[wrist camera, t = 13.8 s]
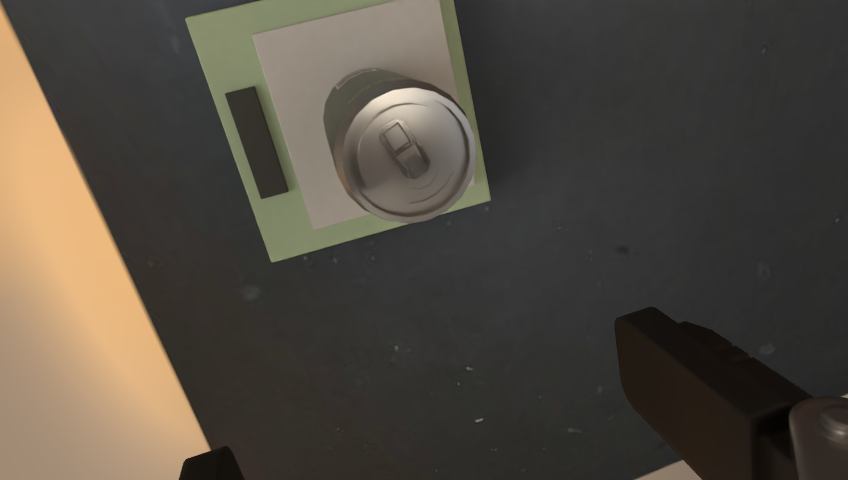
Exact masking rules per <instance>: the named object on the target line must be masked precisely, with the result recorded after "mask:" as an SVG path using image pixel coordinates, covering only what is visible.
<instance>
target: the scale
mask: <svg viewBox="0 0 848 480" xmlns="http://www.w3.org/2000/svg"><path fill="white" fill-rule="evenodd" d="M185 20H186V23H187V26H188V29H189V32H190V35H191V37H192V40H193V43H194V46H195V49H196V51H197V54H198V57H199V60H200V63H201V66H202V68H203V71H204V74H205V77H206V80H207V82H208V85H209V88H210V91H211V94H212V97H213V99H214V102H215V105H216V108H217V111H218V113H219V116H220V119H221V122H222V125H223V128H224V130H225V133H226V136H227V139H228V142H229V144H230V147H231V150H232V153H233V156H234V159H235V161H236V164H237V167H238V170H239V173H240V175H241V178H242V181H243V184H244V187H245V189H246V192H247V195H248V198H249V201H250V204H251V206H252V209H253V212H254V215H255V218H256V220H257V223H258V226H259V229H260V232H261V235H262V237H263V240H264V243H265V246H266V249H267V251H268V254H269V257H270V260H271V262H272V263H273V262H276V261H280V260H283V259H287V258H290V257H294V256H297V255H301V254H304V253H308V252H311V251H315V250H319V249H322V248H326V247H329V246H333V245H336V244H340V243H343V242H347V241H350V240H354V239H357V238H361V237H364V236H368V235H371V234H375V233H378V232H382V231H385V230H389V229H392V228H396V227H399V226H403V225H406V224H407V223H400V222H392V221H388V220H386V219H382V218H380V217H378V216H376V215H374V214H372V213H369V212H367V211H365V210H363V209H362V208H361V207H360V206H359V205H358V204H357V203H356V202H355V201H354V200H353V199H352V198H351V197H350V196H349V195H348V194H347V192H346V190H345V188H344V186H343V185H342V183H341V181H340V179H339V177H338V175H337V172H336V168H335V165H334V161H333V158H332V155H331V151H330V148H329V144H328V141H327V138H326V134H325V128H324V122H323V115H324V108H325V102H326V100H327V98H328V96H329V94H330V92H331V90H332V88H333V87H334V86H335V85H336V84H337V83H338V82H339V81H340V80H341V79H342V78H343V77H345V76H347V75H349V74H351V73H353V72H355V71H357V70H363V69H370V68H376V69H381V70H386V71H390V72H394V73H397V74H400V75H404V76H407V77H411V78H414V79H417V80H421V81H424V82H428V83H431V84H433V85H434V86H436V87H438V88H439V89H441V90H443V91H444V92H446V93H448V94H450V95H451V96H452V98H453V99H454V100H455V101H456V102H457V103H458V105H459V106H460V107H461V108H462V109H463V110H464V111H465V114H466V116H467V119H468V121H469V124H470V126H471V128H472V131H473V134H474V137H475V145H476V157H477V159H476V163H475V168H474V172H473V177H472V180H471V181H470V183H469V185H468V187H467V188H466V190H465V192H464V194H463V196H462V197H461V198H460V199H459V200H458V201H457V202H456V203H455V204H454V205H453V206H452V207H451V208H449V209H448V210H447V211H446V212H444V213H442V214H445V213H448V212H452V211H455V210H459V209H462V208H466V207H469V206H473V205H476V204H480V203H483V202H487V201H490V200H491V197H490V192H489V187H488V181H487V176H486V171H485V165H484V160H483V155H482V149H481V144H480V139H479V133H478V128H477V123H476V117H475V112H474V107H473V101H472V96H471V91H470V85H469V80H468V75H467V69H466V64H465V59H464V53H463V48H462V43H461V37H460V32H459V27H458V21H457V16H456V11H455V5H454V0H260V1H256V2H251V3H247V4H243V5H238V6H234V7H230V8H225V9H221V10H217V11H212V12H208V13H204V14H199V15H195V16H190V17H186V18H185ZM440 215H441V214H440Z"/></svg>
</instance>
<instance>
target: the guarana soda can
mask: <svg viewBox="0 0 848 480" xmlns="http://www.w3.org/2000/svg"><path fill="white" fill-rule="evenodd" d="M323 122H324V128H325V134H326V138H327V141H328V144H329V148H330V151H331V155H332V158H333V161H334V165H335V168H336V172H337V175H338V177H339V179H340V181H341V183H342V185H343V186H344V188H345V190H346V192H347V194H348V195H349V196H350V197H351V198H352V199H353V200H354V201H355V202H356V203H357V204H358V205H359V206H360V207H361V208H362V209H363V210H365V211H367V212H369V213H372V214H374V215H376V216H378V217H380V218H382V219H386V220H388V221H392V222H400V223H407V224H410V223H415V222H421V221H427V220H430V219H432V218H434V217H436V216H438V215H440V214H442V213H444V212H446V211H447V210H448V209H449V208H451V207H452V206H453V205H454V204H455V203H456V202H457V201H458V200H459V199H460V198H461V197H462V196H463V194H464V192H465V190H466V188H467V187H468V185H469V183H470V181H471V180H472V177H473V172H474V168H475V163H476V159H477V157H476V145H475V137H474V134H473V131H472V128H471V126H470V124H469V121H468V119H467V116H466V114H465V111H464V110H463V109H462V108H461V107H460V106H459V105H458V103H457V102H456V101H455V100H454V99H453V98H452V96H451V95H450V94H448V93H446V92H444V91H443V90H441V89H439V88H438V87H436V86H434V85H433V84H431V83H428V82H424V81H421V80H417V79H414V78H411V77H407V76H404V75H400V74H397V73H394V72H390V71H386V70H381V69H376V68H370V69H363V70H357V71H355V72H353V73H351V74H349V75H347V76H345V77H343V78H342V79H341V80H340V81H339V82H338V83H337V84H336V85H335V86H334V87H333V88H332V90H331V92H330V94H329V96H328V98H327V100H326V102H325V108H324V115H323Z"/></svg>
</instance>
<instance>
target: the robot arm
mask: <svg viewBox="0 0 848 480" xmlns="http://www.w3.org/2000/svg"><path fill="white" fill-rule="evenodd" d="M615 335H616V344H617V352H618V360H619V369H620V377H621V383H622V386H623V389H624V392H625V394H626V396H627V398H628V400H629V402H630V404H631V405H632V406H633V408H634V409H635V410H636V411H637V412H638V413H639V414H640V415H641V416H642V418H643V419H644V420H645V421H646V422H647V423H648V424H649V425H650V426H651V427H652V428H653V429H654V430H655V431H656V432H657V433H658V434H659V435H660V436H661V437H662V438H663V439H664V440H665V441H666V442H667V443H668V445H669V446H670V447H671V448H672V449H673V450H674V451H675V452H676V453H677V454H678V455H679V456H680V457H681V458H682V459H683V460H684V461H685V462H686V463H687V464H688V465H689V466H690V467H691V468H692V469H693V471H695V473H696V474H697V475H698V476H699V477H700V478H701V479H702V480H848V398H844V397H835V396H822V397H813V396H811V395H810V394H808V393H807V392H805V391H804V390H802V389H801V388H799V387H798V386H796V385H795V384H793V383H791V382H790V381H788V380H787V379H785V378H784V377H782V376H781V375H779V374H778V373H776V372H775V371H773V370H772V369H770V368H769V367H767V366H766V365H764V364H763V363H761V362H760V361H758V360H757V359H755V358H753V357H752V358H750V357H749V354H747V353H746V352H744V351H743V350H741V349H740V348H738V347H737V346H734V347H733V345H732V343H731V342H729V341H728V340H726V339H725V338H723V337H722V336H720V335H719V334H717V333H716V332H714V331H712V330H711V329H707V328H704V327H701V326H698V325H695V324H692V323H689V322H685V321H684V322H681V323H677V322H675V321H674V320H672V319H671V318H669V317H668V316H667V315H665V314H664V313H662V312H661V311H659V310H658V309H656V308H654V307H648V308H645V309H642V310H639V311H636V312H633V313H630V314H627V315H624V316H621V317H618V318H617V319H616V321H615ZM179 480H244V477H243V475H242V473H241V471H240V468H239V466H238V464H237V462H236V459H235V457H234V455H233V453H232V451H231V450H230V448H229V447H227V446H224V447H221V448H218V449H215V450H212V451H209V452H206V453H203V454H200V455H197V456H194V457H191V458H188V459H186V460H185V461H184V463H183V466H182V470H181V474H180V477H179Z"/></svg>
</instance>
